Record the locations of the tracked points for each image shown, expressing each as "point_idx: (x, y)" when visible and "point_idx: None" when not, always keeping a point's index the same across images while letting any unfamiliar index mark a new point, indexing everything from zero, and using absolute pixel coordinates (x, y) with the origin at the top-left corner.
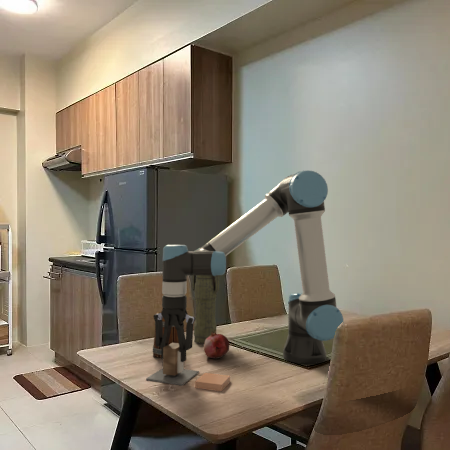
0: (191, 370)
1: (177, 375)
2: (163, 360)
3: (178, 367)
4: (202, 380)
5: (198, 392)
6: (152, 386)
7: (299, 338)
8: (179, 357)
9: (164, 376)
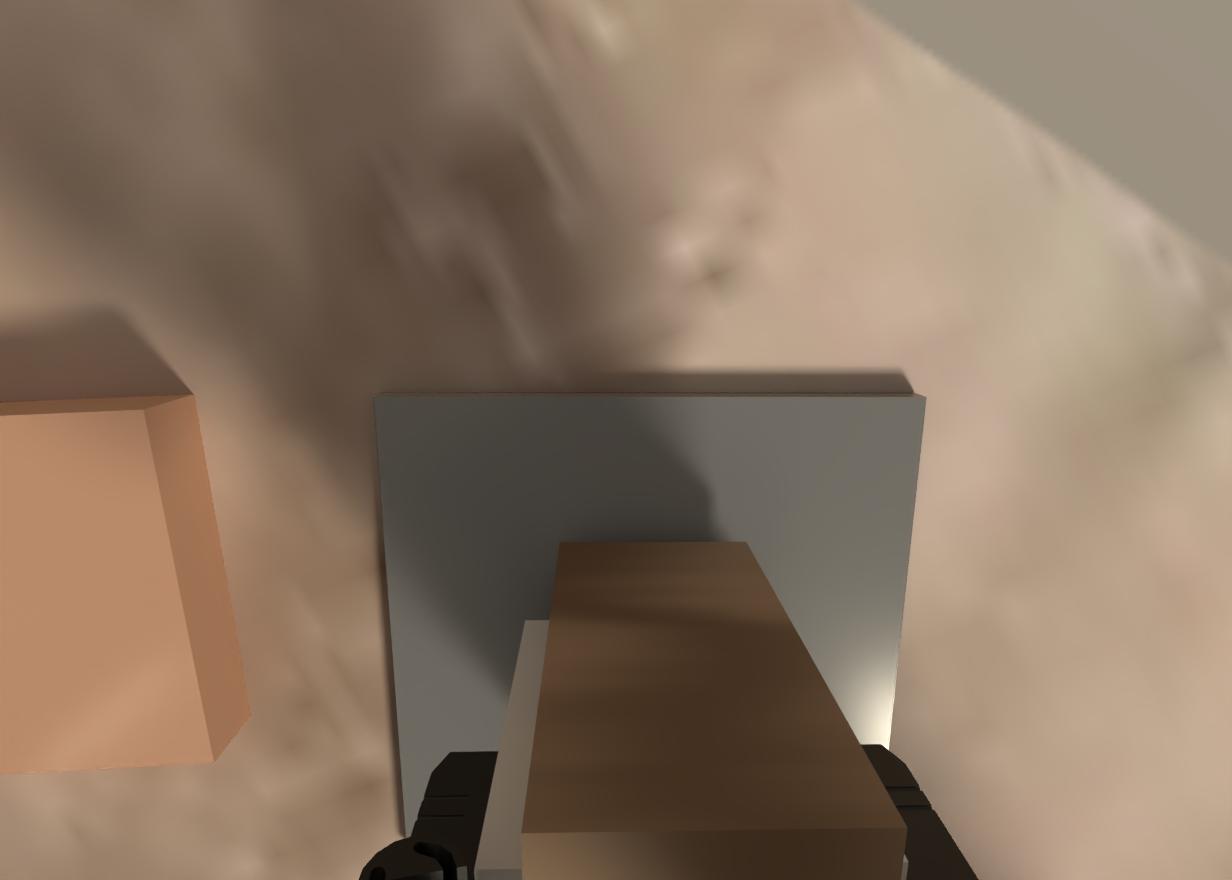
0: None
1: None
2: (793, 637)
3: (535, 662)
4: (72, 482)
5: (60, 255)
6: (730, 213)
7: None
8: (498, 773)
9: None
